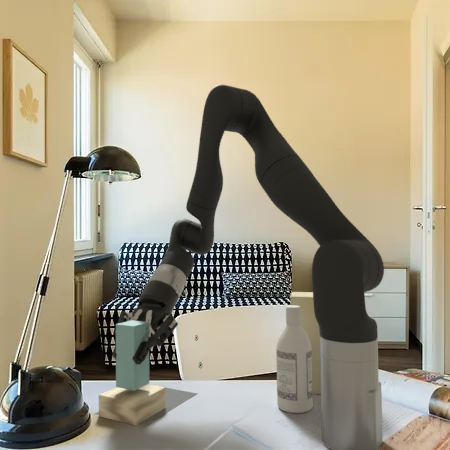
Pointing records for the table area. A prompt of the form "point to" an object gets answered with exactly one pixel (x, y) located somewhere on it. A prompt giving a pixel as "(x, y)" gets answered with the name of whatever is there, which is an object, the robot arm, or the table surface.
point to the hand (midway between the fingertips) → (126, 360)
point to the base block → (132, 403)
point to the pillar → (130, 355)
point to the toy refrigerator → (310, 332)
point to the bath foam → (294, 365)
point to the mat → (169, 403)
